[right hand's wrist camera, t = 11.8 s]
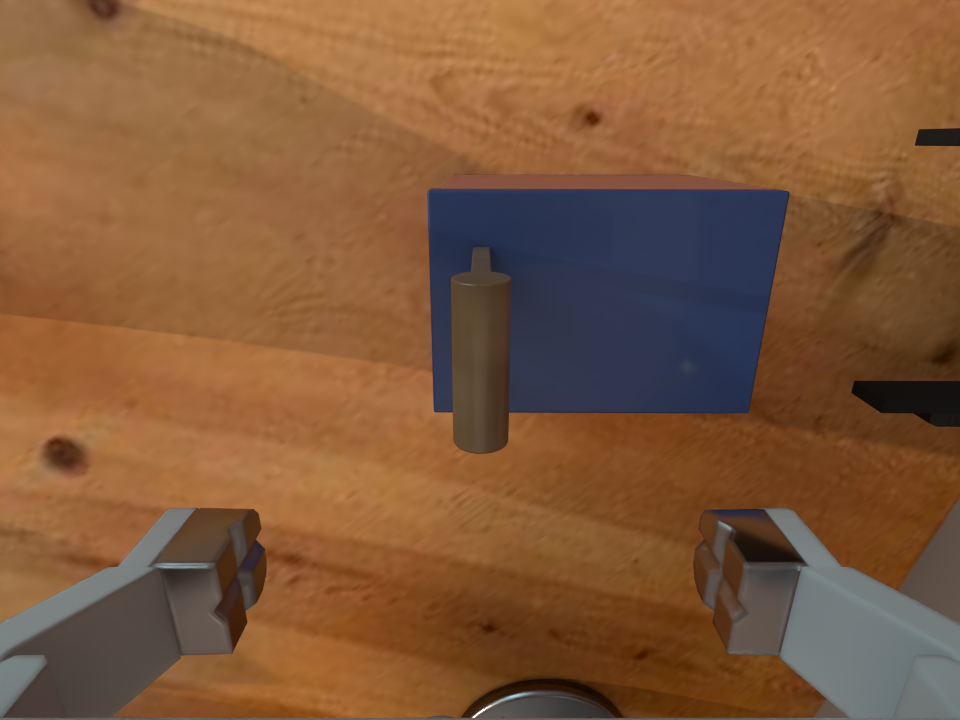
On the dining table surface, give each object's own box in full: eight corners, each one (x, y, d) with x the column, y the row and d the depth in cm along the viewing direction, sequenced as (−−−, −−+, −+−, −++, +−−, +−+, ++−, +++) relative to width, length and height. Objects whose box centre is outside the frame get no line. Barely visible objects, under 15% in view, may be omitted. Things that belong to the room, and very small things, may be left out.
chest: (454, 332, 38) (445, 401, 28) (452, 174, 34) (440, 188, 24) (669, 333, 37) (737, 402, 28) (689, 175, 34) (776, 188, 24)
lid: (435, 401, 27) (416, 507, 20) (429, 188, 24) (403, 211, 16) (738, 403, 27) (842, 509, 20) (776, 189, 24) (922, 212, 16)
